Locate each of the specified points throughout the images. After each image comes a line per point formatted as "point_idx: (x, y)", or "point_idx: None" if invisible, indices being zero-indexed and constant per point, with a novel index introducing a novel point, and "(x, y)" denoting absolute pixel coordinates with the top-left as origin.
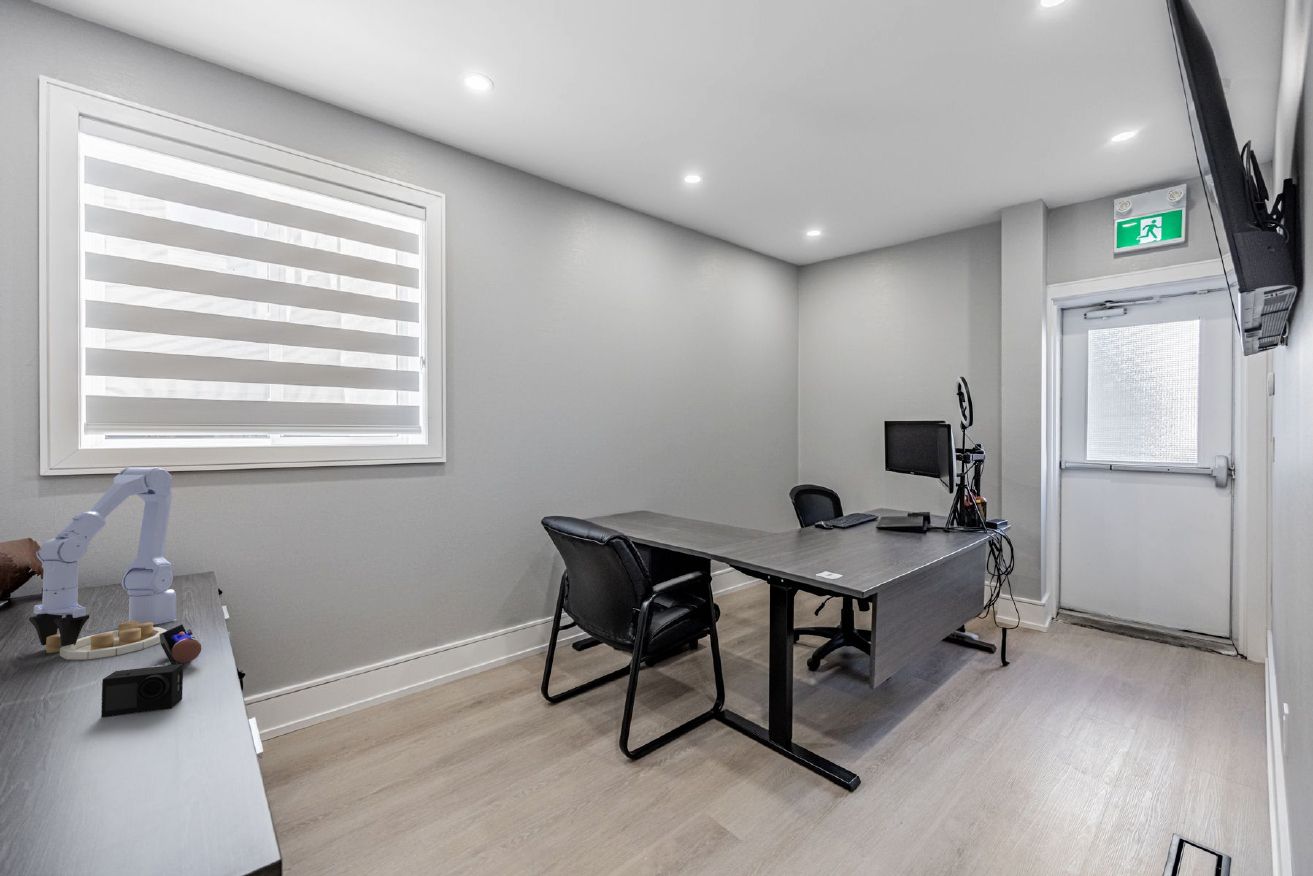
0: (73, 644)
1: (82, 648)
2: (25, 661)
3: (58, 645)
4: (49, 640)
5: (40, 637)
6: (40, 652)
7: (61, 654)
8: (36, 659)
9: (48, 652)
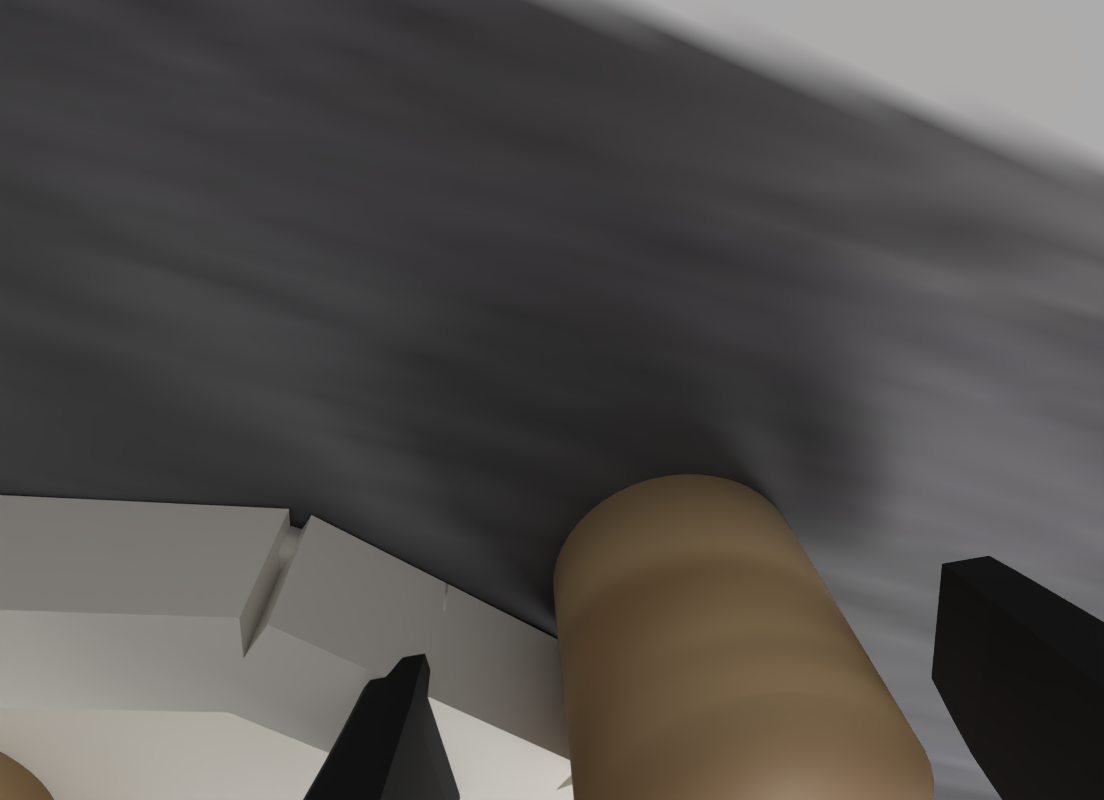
0: None
1: None
2: (617, 210)
3: (574, 660)
4: (694, 671)
5: (1085, 653)
6: (946, 478)
7: (171, 551)
8: (570, 334)
9: (654, 509)
